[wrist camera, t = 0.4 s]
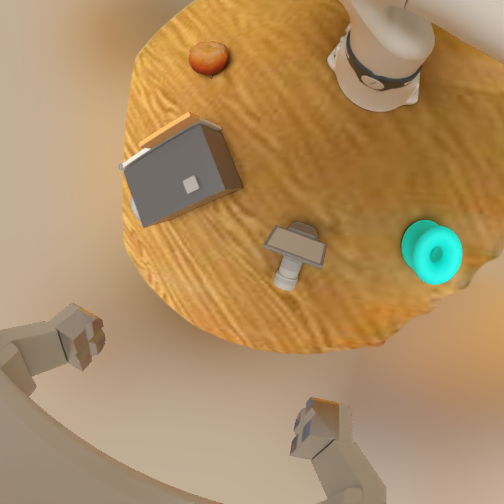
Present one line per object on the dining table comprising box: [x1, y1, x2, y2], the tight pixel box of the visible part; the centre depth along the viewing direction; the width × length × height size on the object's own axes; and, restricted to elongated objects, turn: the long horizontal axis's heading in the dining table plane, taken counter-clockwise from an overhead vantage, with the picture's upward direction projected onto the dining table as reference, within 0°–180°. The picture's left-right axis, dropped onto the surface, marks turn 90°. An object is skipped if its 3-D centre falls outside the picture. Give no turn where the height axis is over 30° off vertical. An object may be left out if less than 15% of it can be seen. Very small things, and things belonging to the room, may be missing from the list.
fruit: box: [189, 42, 228, 79], centre depth 44 cm, size 8×8×8 cm
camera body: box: [124, 125, 243, 228], centre depth 50 cm, size 20×12×11 cm, turn 112°
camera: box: [263, 221, 327, 291], centre depth 46 cm, size 9×12×15 cm
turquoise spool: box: [401, 220, 462, 285], centre depth 41 cm, size 10×10×10 cm
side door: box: [119, 112, 222, 170], centre depth 47 cm, size 19×1×14 cm, turn 112°
